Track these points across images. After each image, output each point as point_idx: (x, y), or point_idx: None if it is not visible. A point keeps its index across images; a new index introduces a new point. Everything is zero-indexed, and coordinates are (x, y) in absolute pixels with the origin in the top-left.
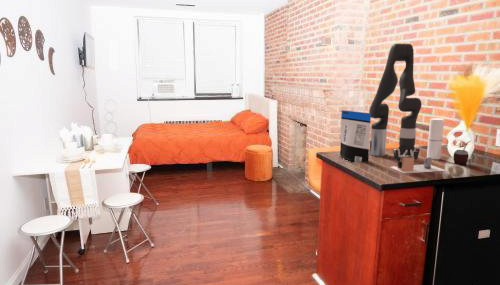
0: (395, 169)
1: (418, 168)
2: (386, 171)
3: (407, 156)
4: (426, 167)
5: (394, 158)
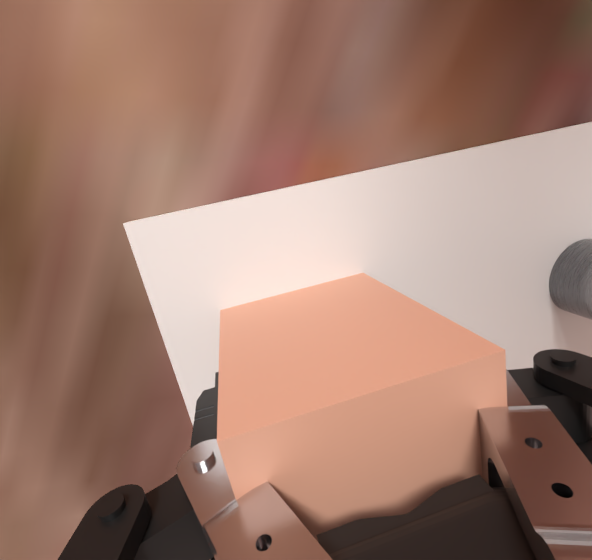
0: (175, 372)
1: (479, 307)
2: (65, 323)
3: (429, 490)
4: (568, 308)
5: (82, 538)
